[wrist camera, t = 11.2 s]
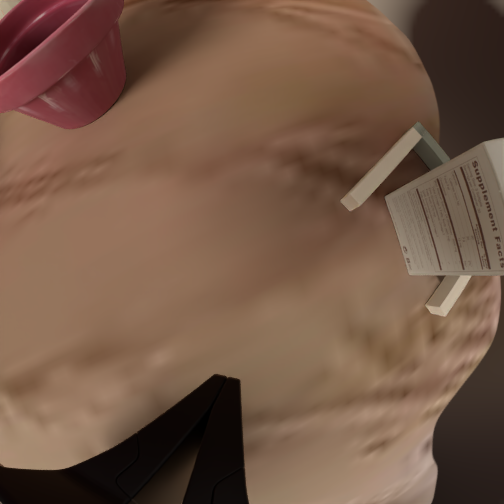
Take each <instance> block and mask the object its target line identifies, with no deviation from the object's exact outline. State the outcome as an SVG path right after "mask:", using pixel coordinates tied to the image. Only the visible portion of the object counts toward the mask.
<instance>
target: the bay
mask: <svg viewBox="0 0 504 504" xmlns="http://www.w3.org/2000/svg"><path fill="white" fill-rule="evenodd" d="M412 148H413V150H414V151H415V152H416V153H417V154H418V155H419V157H420V158H421V159H422V160H423V161H424V163H425V164H426V165H427V166H428V168H429V169H430V170H433V169H435V168H437V167H439V166H441V165H442V164H444V163H446V162H448V161H450V158H449V157H448V156H447V155H446V153H445V152H444V151H443V149H442V148H441V147H440V146H439V144H438V143H437V142H436V141H435V140H434V138H433V137H432V136H431V135H430V134H429V132H428V131H427V130H426V129H425V128H424V127H423V126H422V124H421V123H420V122H419V121H418V122H417V123H416V124H415V125H413V126H412V127H411V128H410V129H409V130H408V131H407V132H406V133H405V134H404V135H403V136H402V137H401V138H400V139H399V140H398V141H397V142H396V143H395V144H394V145H393V146H392V147H391V148H390V150H389V151H388V152H387V153H386V154H385V155H384V156H383V157H382V158H381V159H380V160H379V161H378V162H377V163H376V164H375V165H374V166H373V167H372V168H371V169H370V170H369V171H368V172H367V173H366V174H365V176H364V177H363V178H362V179H361V180H360V181H359V182H358V183H357V184H356V185H355V186H354V187H353V188H352V189H351V190H350V191H349V192H348V193H347V194H346V195H345V196H344V197H343V198H342V199H341V200H340V202H341V203H342V204H343V205H344V206H345V207H346V208H347V209H348V210H349V211H352V210H354V209H356V208H357V207H359V206H361V205H362V204H363V203H364V202H365V200H366V199H367V198H368V197H369V196H370V195H371V194H372V193H373V192H374V191H375V190H376V188H377V187H378V186H379V185H380V184H381V183H382V182H383V181H384V180H385V179H386V177H387V176H388V175H389V174H390V173H391V172H392V171H393V170H394V169H395V167H396V166H397V165H398V164H399V163H400V162H401V161H402V160H403V158H404V157H405V156H406V155H407V154H408V153H409V152H410V150H411V149H412ZM470 278H471V276H467V275H446V276H445V278H444V279H443V281H442V282H441V283H440V285H439V286H438V288H437V289H436V291H435V292H434V293H433V295H432V296H431V298H430V299H429V300H428V302H427V303H426V304H425V306H426V307H427V308H428V310H429V311H430V313H431V314H435V315H440V316H446V315H447V314H448V312H449V311H450V309H451V308H452V306H453V305H454V303H455V302H456V300H457V299H458V297H459V296H460V294H461V292H462V291H463V289H464V288H465V286H466V284H467V283H468V281H469V279H470Z"/></svg>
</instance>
